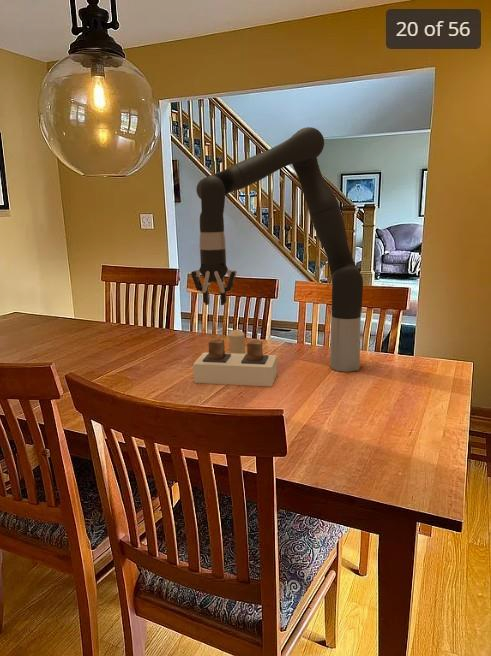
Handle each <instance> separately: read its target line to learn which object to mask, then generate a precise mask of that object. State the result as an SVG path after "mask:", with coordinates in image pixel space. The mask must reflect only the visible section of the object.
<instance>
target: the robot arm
mask: <svg viewBox="0 0 491 656" xmlns="http://www.w3.org/2000/svg"><path fill="white" fill-rule="evenodd" d="M324 146H325V139H324V136H323V133H322V132H321V131H320V130H318V128H315V127H312V126H311V127H310V126H307V127H303V128H301V129H299V130H297V131H296V133H294V134H293V135H292V136H291V137H290V138H288V139H286V140H285V141H283V142H281V143H280V144H278V145H276V146H273V147H272V148H270V149H268V150H265V151H263V152H260V153H257V154H255V155H253V156H250V157H248V158H246V159H243V160H242V161H240V162H237V163H235V164H233V165H231V166H228V167H227V168H226V169H223V170H221V171H218V172H215V173H213V174H211V175H208V176H205V177H204V178H202V179H200V180H199V182H198V183H197V185H196V190H195V191H196V194H197V197H198V198H199V199H200V201H201V203H200V204H201V212H200V214H199V253H200V254H199V255H200V256H199V258H200V259H199V260H200V267H199V269H198V270H193V271H191V273H190V275H191V278H192V281H193V283H194V286H195V289H196V291H198V292H202V301H203V303H204V304H205V305H206V306H208V305H210V291H209V288H210V285H211V283H212V282H214V283H217V286H218V287H219V290H220V296H219V297H220V305H221V306H224V305H225V304H226V303H227V292H230V291H231V290H233V287H234V283H235V280H236V276H237V271H236V270H230V269H229V268H228V267H227V256H226V255H227V252H226V236H225V221H224V219H225V218H224V211H225V201H226V195H229V194H230V193H232V192H236V191H239V190H242V189H245V188H247V187H249V186H251V185H253V184H255V183H257V182H260V181H261V180H263V179H265V178H266V177H269V176H270V175H272V174H274V173H275V172H277V171H280V170H281V169H283V168H285V167H287V166H290V165H292V167H293V170H294V172H295V174H296V176H297V179H298V181H299V185H300V186H301V190H302V194H303V197H304V200H305V203H306V204H305V205H307V210H308V213H309V216H310V217H309V218H310V219H311V223H312V225H313V228H314V231H315V234H316V236H317V238H318V241H319V243H320V244H321V246H322V248H323V250H324V252H325V256H326V259H327V262H328V266H329V271H330V277H331V287H332V288H331V310H330V314H331V315H330V317H331V318H330V319H331V320H330V357H329V359H330V360H329V361H330V362H329V363H330V364H329V367H330V369H331V370H333V371H337V372H344V373H346V372H348V373H349V372H355V371H357V372H358V371H360V359H361V356H360V355H361V318H362V317H361V316H362V308H363V291H364V279H363V278H364V277H363V276H362V273H361V272H360V270H359V268H358V267H357V265H356V264H357V263H356V262H355V261H354V257H353V256H352V253H351V250H350V247H349V242H348V238H347V236H348V235H347V230H346V224H345V220H344V216H343V213H342V209H341V207H340V203H339V200H338V199H337V197H336V195H335V193H334V192H333V190H332V189H331V187H330V186H329V184H328V183H327V182H326V180H325V179H324V177H323V174H322V172H321V169H320V165H319V161H318V157H319V156H320V155H321V153H323V150H324ZM226 275H227V277H228V278H229V279H228V282H227V286H226V283H225V279H224V277H225V276H226ZM201 276H202V277H203V278H204V279H203V284H202V281H201V278H200V277H201Z"/></svg>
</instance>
